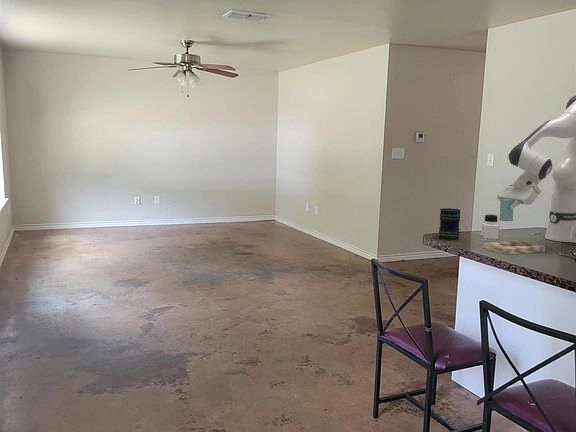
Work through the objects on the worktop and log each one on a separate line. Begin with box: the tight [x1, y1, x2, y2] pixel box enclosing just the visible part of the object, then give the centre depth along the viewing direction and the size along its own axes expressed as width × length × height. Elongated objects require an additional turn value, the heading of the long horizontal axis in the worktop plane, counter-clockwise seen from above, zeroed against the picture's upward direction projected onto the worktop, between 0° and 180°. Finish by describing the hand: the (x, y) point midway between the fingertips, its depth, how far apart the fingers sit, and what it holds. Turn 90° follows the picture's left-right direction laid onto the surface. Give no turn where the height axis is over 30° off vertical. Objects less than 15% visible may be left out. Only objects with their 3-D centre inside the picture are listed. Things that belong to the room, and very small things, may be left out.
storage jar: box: [438, 207, 461, 241], centre depth 252 cm, size 10×10×15 cm
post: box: [499, 199, 514, 222], centre depth 230 cm, size 4×4×10 cm
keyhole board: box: [483, 239, 546, 256], centre depth 228 cm, size 22×14×2 cm, turn 108°
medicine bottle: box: [480, 214, 500, 240], centre depth 255 cm, size 7×7×12 cm
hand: (505, 208), depth 230 cm, fingers closed on post, 4 cm apart
